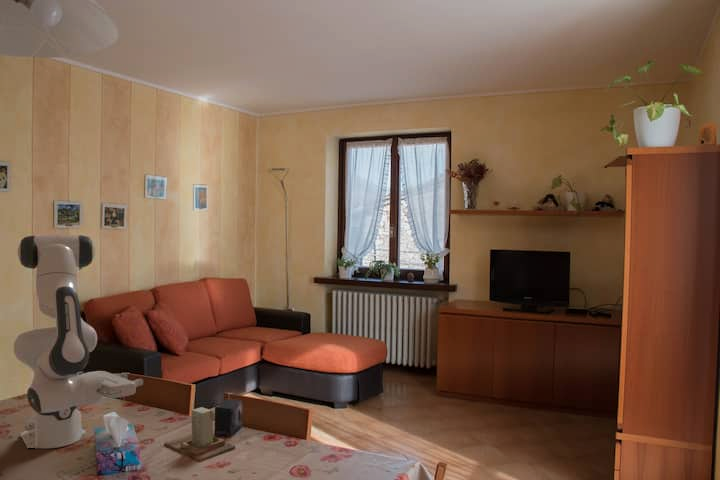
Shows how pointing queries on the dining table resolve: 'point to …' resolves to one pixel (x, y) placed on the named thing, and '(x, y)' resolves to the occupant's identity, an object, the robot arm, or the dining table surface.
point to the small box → (228, 417)
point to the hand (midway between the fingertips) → (134, 378)
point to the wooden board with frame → (200, 453)
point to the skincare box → (202, 427)
